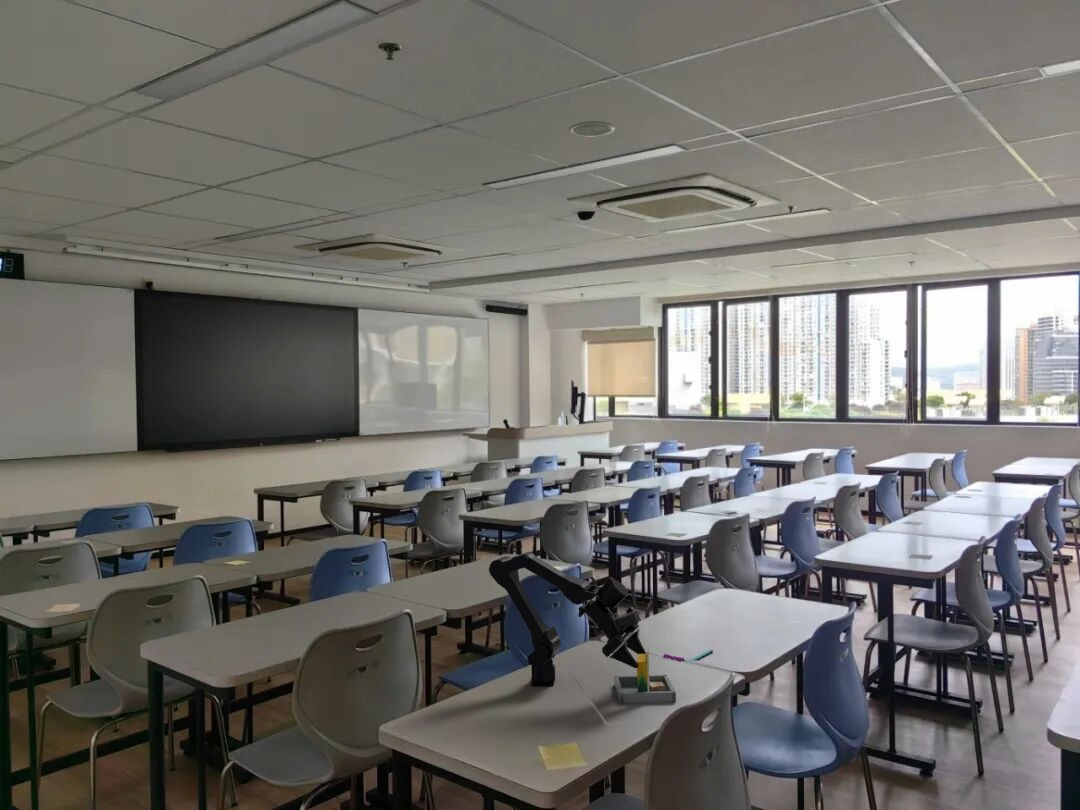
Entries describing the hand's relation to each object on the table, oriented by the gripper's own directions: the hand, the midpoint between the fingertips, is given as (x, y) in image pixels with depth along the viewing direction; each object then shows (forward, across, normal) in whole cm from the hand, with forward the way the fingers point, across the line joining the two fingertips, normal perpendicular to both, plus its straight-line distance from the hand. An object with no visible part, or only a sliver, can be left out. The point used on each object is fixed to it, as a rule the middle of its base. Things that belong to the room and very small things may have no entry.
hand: (641, 662), depth 220 cm
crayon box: (+6, 0, +6) cm, 9 cm away
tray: (+7, 0, +6) cm, 9 cm away
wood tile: (+8, +5, +4) cm, 10 cm away
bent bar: (+9, +32, +5) cm, 33 cm away
